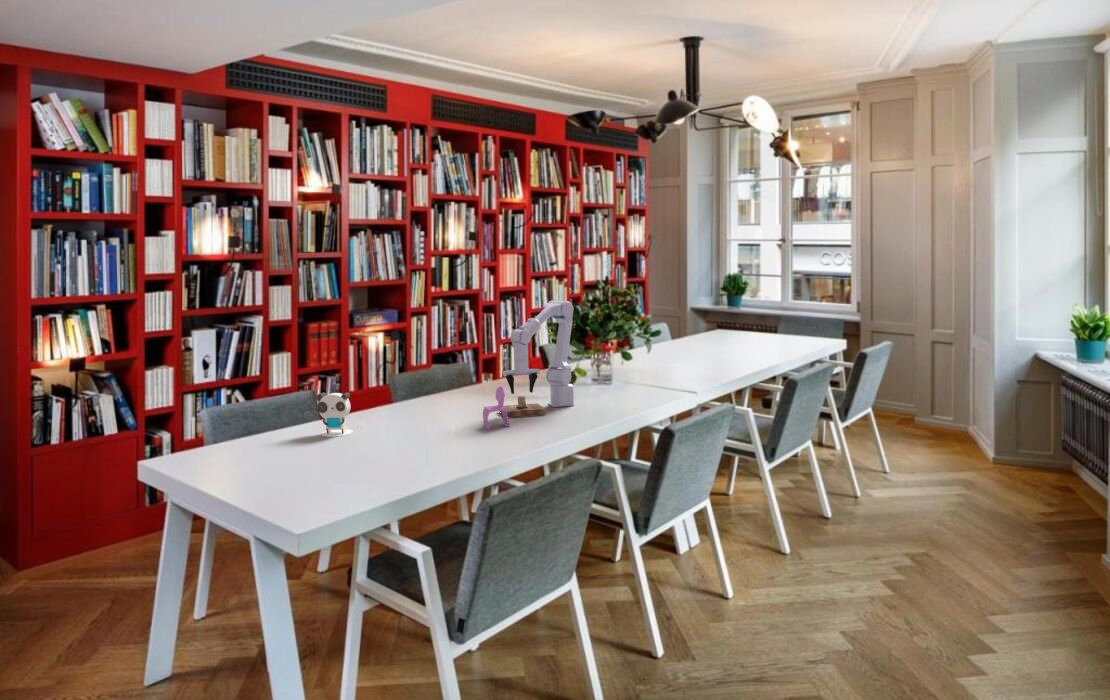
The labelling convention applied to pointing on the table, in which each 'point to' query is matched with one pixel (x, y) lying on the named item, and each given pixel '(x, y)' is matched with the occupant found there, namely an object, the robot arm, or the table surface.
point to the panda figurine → (334, 413)
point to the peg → (521, 402)
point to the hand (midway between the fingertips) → (521, 392)
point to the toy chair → (496, 407)
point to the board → (524, 410)
